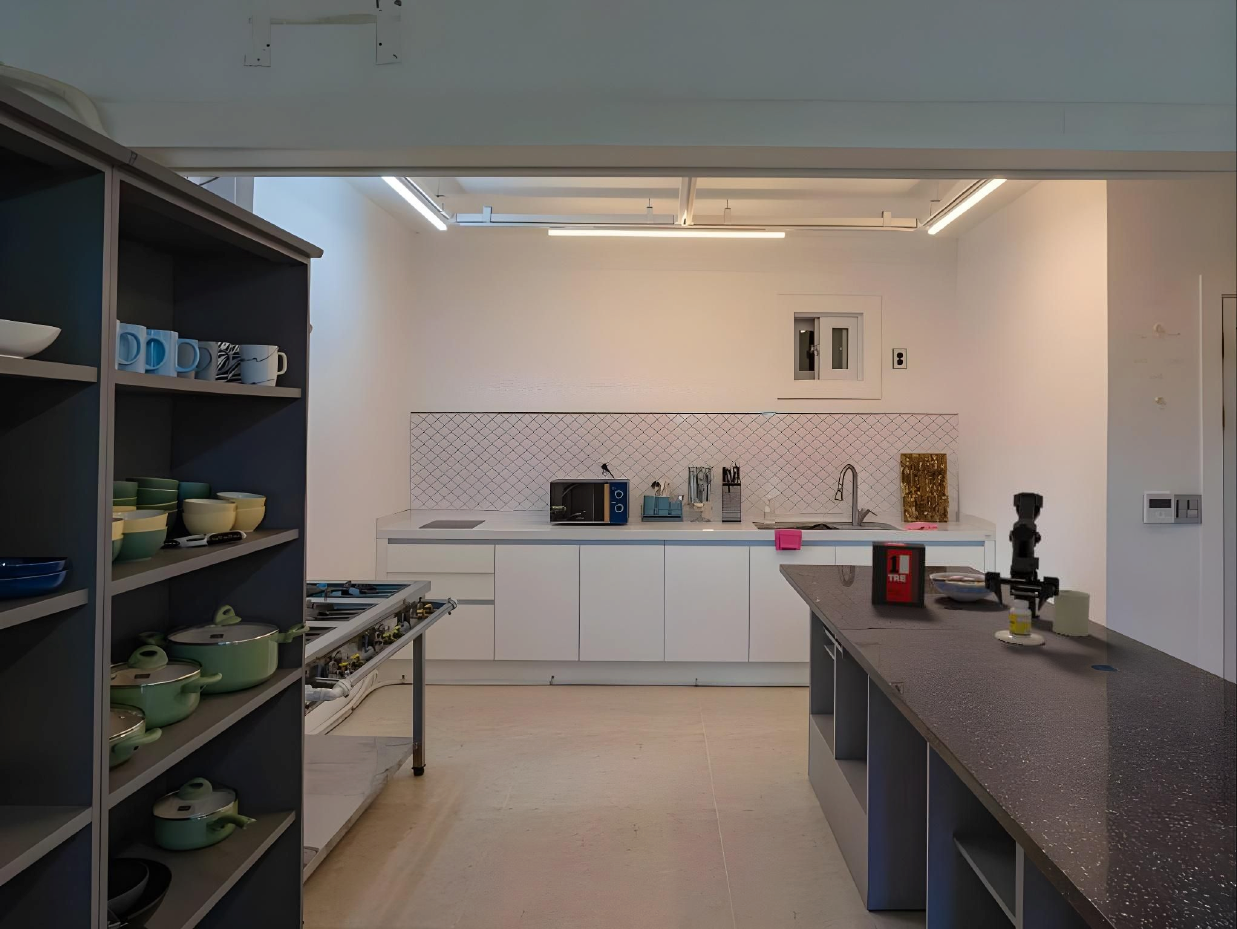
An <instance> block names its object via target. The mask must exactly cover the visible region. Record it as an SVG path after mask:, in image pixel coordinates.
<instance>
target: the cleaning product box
mask: <svg viewBox="0 0 1237 929" xmlns="http://www.w3.org/2000/svg"><path fill="white" fill-rule="evenodd" d="M871 545H872V546H871V547H872V548H871V596H870V597H871V598H870V601H871V605H883V606H893V607H894V606H897V607H910V608H911V607H912V608H914V607H915V608H925V595H926V594H925V593H926V591H925V590H926V589H925V588H926V554H927V553H926V551H927V550H926V548H927V547H926V545H925V543H915V542H892V541H891V542H890V541H872V544H871Z"/></svg>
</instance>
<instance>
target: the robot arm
mask: <svg viewBox="0 0 1237 929" xmlns="http://www.w3.org/2000/svg"><path fill="white" fill-rule="evenodd" d="M1012 506H1013V508H1015V512H1016V515H1017V519H1018V520H1017V521H1015V522H1014V523H1013V526H1012V530H1009V534H1008V541H1009V542H1010V543H1011V547H1012V551H1011V565H1010V568H1009V576H1010V577H1006V576H1001V571H1000V572H999V571H989V570H987V571H986V572H985V573H984V576H985V588H986V589H987V590H990V592H993V594H994V595H995V597H996V599H997V602H998V604H999V607H1000V608H1002V607H1003V604H1004V603H1003V591H1002V590H1003V589H1002V586H1009V596H1011V597H1012V596H1013V600H1025V601H1028V602H1029V607H1028V609H1029V610H1030V611H1031V618H1040V617H1041V615H1039V614H1037V612H1041V610H1042V608H1043V606H1044V605H1045V604H1046V602H1048V600H1049V599H1054V596H1058V595H1059V590H1060V579H1059V577H1058V576H1046V575H1043V580H1041V578H1039V573H1038V571H1039V569H1040V557H1038V556H1035V552H1036V550H1035V548H1036V547H1037V544H1038V545H1039V544H1040V543H1041V541H1042V535H1041V534H1040V531H1037V530H1038V528H1037V527H1038V525H1037V524H1036V522H1035V521H1036V520H1037V519H1038V518H1039V517H1040V516H1041V509H1043V508H1044V496H1043V495H1041V494H1040V493H1035V492H1026V491H1021V492H1018V493H1015V494H1013V504H1012ZM1037 599H1038V603H1037V602H1036V601H1037ZM1008 614H1010V610H1009V612H1008Z"/></svg>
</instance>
